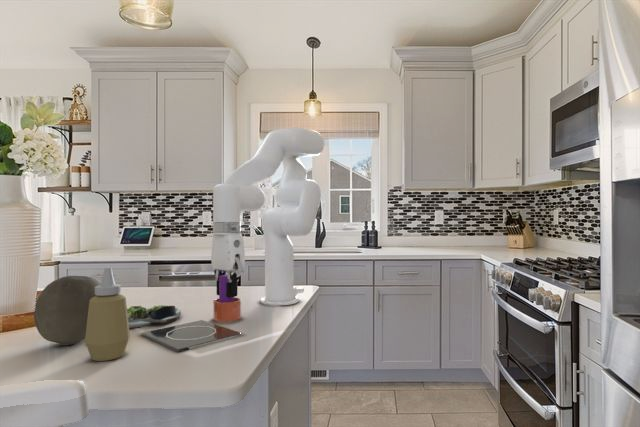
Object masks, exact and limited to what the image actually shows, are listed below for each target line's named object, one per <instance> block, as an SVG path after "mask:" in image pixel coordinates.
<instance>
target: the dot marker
mask: <svg viewBox="0 0 640 427" xmlns="http://www.w3.org/2000/svg"><path fill="white" fill-rule="evenodd" d="M232 275H233V274H231V276H232ZM227 282H228V278H227V274H226V275H220V276H219V295H218V298H219V302H234V297H229V298H228V297H226V283H227Z"/></svg>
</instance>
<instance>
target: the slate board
mask: <svg viewBox="0 0 640 427" xmlns="http://www.w3.org/2000/svg"><path fill="white" fill-rule="evenodd" d="M238 335H242V332H240V331H236V330H234V329H230V328H227V327H224V326H221V325H218V324H216V323H212V322H209V321H206V320H203V319H200V320H196V321H191V322H186V323H181V324H177V325H172V326H167V327H163V328H158V329H153V330H148V331H144V332H141V336H142V337H145V338H147V339H150V340H151V341H153V342H156V343H158V344H160V345H162V346H164V347H166V348H168V349H171V350H173V351H175V352H177V353H182V352H185V351H188V350H190V348H192V347H196V346H200V345H203V344H207V343H208V344H209V343H212V342H215V341H219V340H223V339H227V338H231V337H234V336H238Z"/></svg>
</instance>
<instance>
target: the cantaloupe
mask: <svg viewBox="0 0 640 427" xmlns="http://www.w3.org/2000/svg"><path fill="white" fill-rule="evenodd" d="M99 285H101V281H98V279H95V278H94V277H92V276H91V277H90V276H87V275H66V276H62V277H59V278H58V279H54V280H53V281H51V282H50V283H48V284H47V285H46V286H45V287H44V289H43V290H42V291H41V293H40V294H39V296H38V297H37V299H36V301H35V305H34V306H35V307H34V313H33V319H34V320H33V321H34V325H35V327H36V329H37V331H38V333H39V335H40V336H41V337H42V338H43V339H44V340H46V341H49V342H52V343H56V344H59V345H61V346H71V345H75V344H77V343H80V342H82V341H85V336H86V327H87V318H88V309H89V300H91V299H92V298H93V297H95V296H97V295H95V287H96V286H99Z"/></svg>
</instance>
